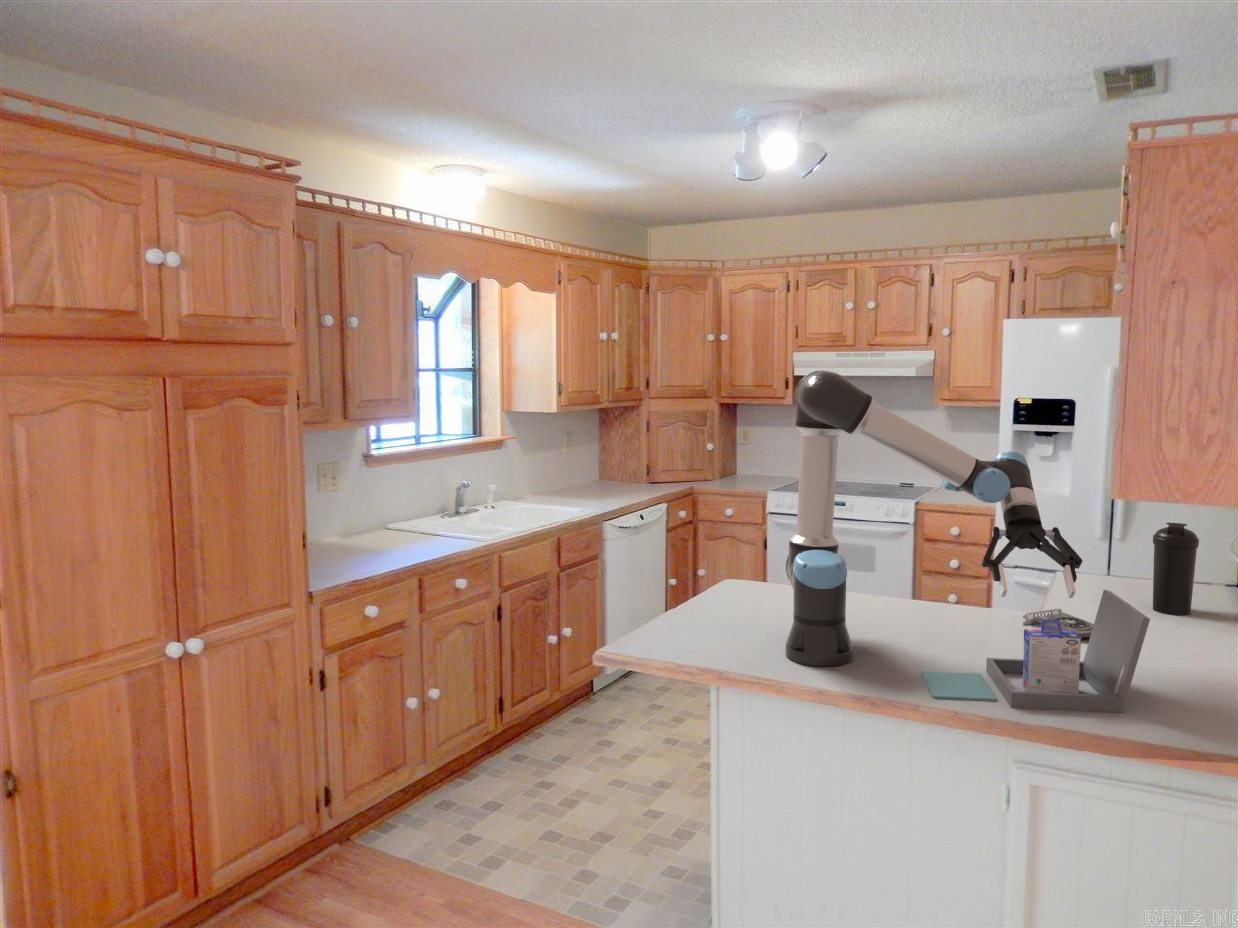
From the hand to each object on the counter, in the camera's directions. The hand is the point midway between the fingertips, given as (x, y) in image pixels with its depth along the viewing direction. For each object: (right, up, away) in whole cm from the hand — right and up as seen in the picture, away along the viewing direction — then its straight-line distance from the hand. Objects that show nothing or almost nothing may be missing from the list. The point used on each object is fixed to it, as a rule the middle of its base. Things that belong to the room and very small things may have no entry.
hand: (1038, 594), depth 188 cm
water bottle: (+56, -11, +44) cm, 72 cm away
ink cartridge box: (-2, -19, -8) cm, 21 cm away
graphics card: (+20, -14, +29) cm, 38 cm away
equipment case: (0, -18, -9) cm, 20 cm away
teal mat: (-19, -18, -5) cm, 27 cm away
